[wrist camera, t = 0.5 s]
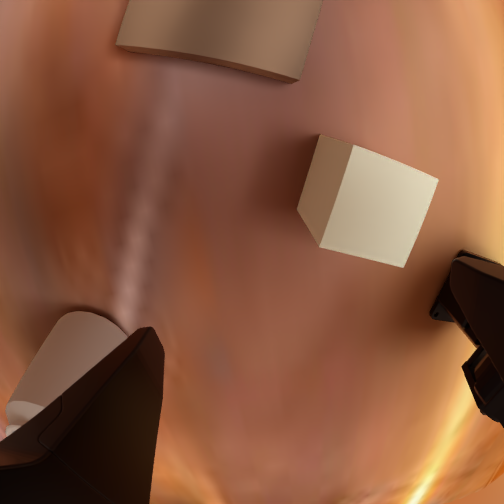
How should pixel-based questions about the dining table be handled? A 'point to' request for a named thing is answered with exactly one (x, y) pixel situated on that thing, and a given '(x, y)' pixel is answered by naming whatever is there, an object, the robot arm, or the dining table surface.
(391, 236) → the block
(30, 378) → the can
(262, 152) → the dining table surface
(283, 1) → the plinth
